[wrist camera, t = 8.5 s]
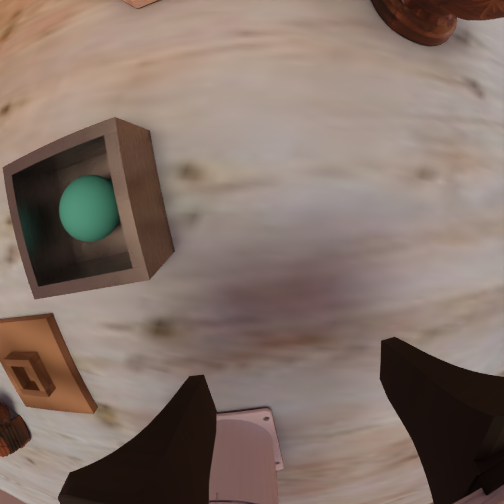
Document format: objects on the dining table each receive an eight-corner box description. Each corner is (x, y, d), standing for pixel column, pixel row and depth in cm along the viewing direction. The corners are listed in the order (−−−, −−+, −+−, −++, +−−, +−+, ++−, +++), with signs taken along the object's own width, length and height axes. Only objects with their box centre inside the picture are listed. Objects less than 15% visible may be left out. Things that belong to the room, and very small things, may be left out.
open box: (174, 251, 20) (149, 279, 14) (76, 271, 20) (34, 299, 14) (149, 130, 18) (115, 116, 12) (51, 165, 18) (2, 167, 12)
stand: (97, 407, 23) (88, 424, 21) (30, 401, 23) (19, 414, 21) (52, 313, 21) (36, 326, 18) (-11, 320, 21) (-26, 331, 18)
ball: (136, 228, 19) (114, 240, 15) (85, 240, 19) (56, 254, 15) (124, 167, 18) (98, 165, 14) (73, 183, 18) (41, 186, 14)
